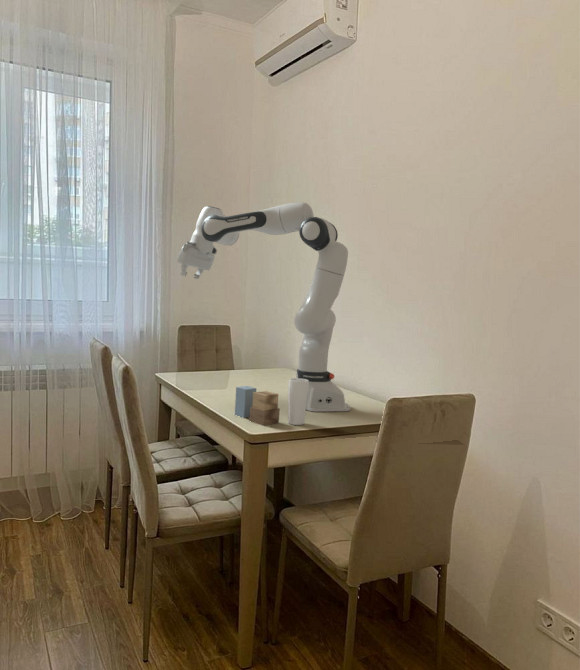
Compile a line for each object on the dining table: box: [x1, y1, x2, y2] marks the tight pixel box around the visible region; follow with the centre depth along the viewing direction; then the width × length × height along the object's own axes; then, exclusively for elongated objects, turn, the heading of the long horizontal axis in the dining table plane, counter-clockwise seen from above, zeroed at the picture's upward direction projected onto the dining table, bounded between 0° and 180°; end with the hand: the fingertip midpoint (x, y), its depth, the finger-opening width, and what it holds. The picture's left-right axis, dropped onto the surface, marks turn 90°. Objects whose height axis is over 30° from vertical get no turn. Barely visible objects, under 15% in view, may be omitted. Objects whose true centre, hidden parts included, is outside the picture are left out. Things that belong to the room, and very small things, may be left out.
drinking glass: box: [287, 377, 309, 426], centre depth 195 cm, size 7×7×15 cm
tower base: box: [249, 407, 280, 427], centre depth 195 cm, size 7×7×5 cm
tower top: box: [252, 390, 279, 411], centre depth 195 cm, size 6×6×5 cm
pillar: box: [234, 385, 257, 419], centre depth 202 cm, size 5×5×10 cm
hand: (189, 277), depth 238 cm, fingers open, 8 cm apart
